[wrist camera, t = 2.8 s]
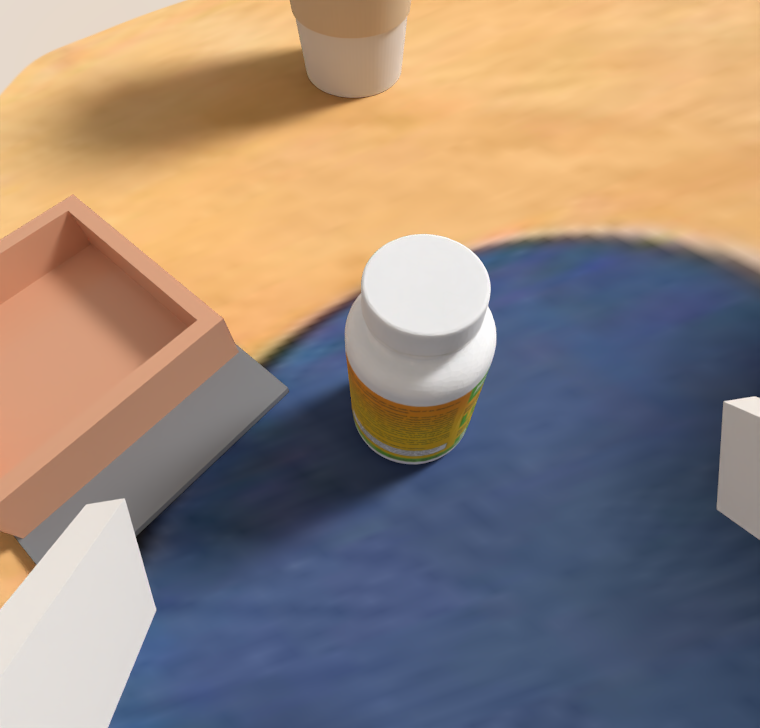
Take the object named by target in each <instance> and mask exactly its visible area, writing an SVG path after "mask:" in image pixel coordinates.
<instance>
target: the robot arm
mask: <svg viewBox="0 0 760 728" xmlns="http://www.w3.org/2000/svg"><path fill="white" fill-rule="evenodd" d="M717 510H718V511H720V512H721V513H722V514H724V515H725V516H727V517H728V518H730V519H731V520H732V521H734V522H735V523H737V524H738V525H739V526H741V527H742V528H744V529H745V530H746V531H748V532H749V533H751V534H752V535H753V536H755V537H756V538H758V539H759V540H760V398H758V397H756V396H754V397H748V398H742V399H735V400H729V401H723V417H722V433H721V449H720V465H719V481H718V497H717ZM155 612H156V607H155V604H154V600H153V597H152V593H151V590H150V586H149V583H148V579H147V575H146V572H145V568H144V565H143V561H142V558H141V554H140V550H139V547H138V543H137V540H136V536H135V533H134V529H133V526H132V522H131V518H130V515H129V511H128V508H127V504H126V501H125V498H123V499H117V500H110V501H104V502H98V503H92V504H86V505H85V506H84V508H83V509H82V510H81V511H80V513H79V514H78V515H77V516H76V517H75V519H74V520H73V521H72V522H71V524H70V525H69V526H68V527H67V528H66V530H65V531H64V532H63V533H62V535H61V536H60V537H59V538H58V539H57V541H56V542H55V543H54V544H53V546H52V547H51V548H50V549H49V550H48V552H47V553H46V554H45V555H44V557H43V558H42V559H41V560H40V561H39V563H38V564H37V565H36V566H35V568H34V569H33V570H32V571H31V573H30V574H29V575H28V576H27V577H26V579H25V580H24V581H23V582H22V584H21V585H20V586H19V587H18V588H17V590H16V591H15V592H14V593H13V595H12V596H11V597H10V598H9V599H8V601H7V602H6V603H5V604H4V606H3V607H2V608H1V609H0V728H108V726H109V723H110V721H111V719H112V716H113V714H114V711H115V709H116V706H117V704H118V702H119V699H120V697H121V694H122V692H123V689H124V687H125V685H126V682H127V680H128V677H129V675H130V672H131V670H132V668H133V665H134V663H135V660H136V658H137V655H138V653H139V651H140V648H141V646H142V643H143V641H144V638H145V636H146V634H147V631H148V629H149V626H150V624H151V622H152V619H153V617H154V614H155Z"/></svg>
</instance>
